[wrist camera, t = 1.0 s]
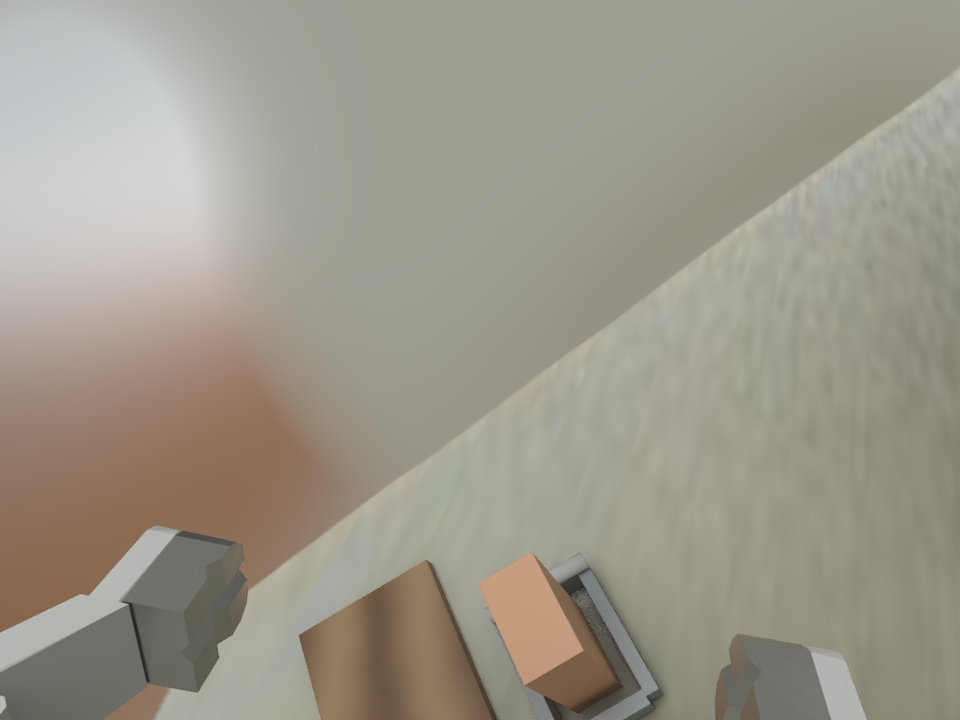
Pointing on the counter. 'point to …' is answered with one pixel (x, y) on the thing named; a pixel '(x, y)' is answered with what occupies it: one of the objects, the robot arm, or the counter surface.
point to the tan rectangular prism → (548, 635)
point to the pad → (395, 657)
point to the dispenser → (638, 704)
